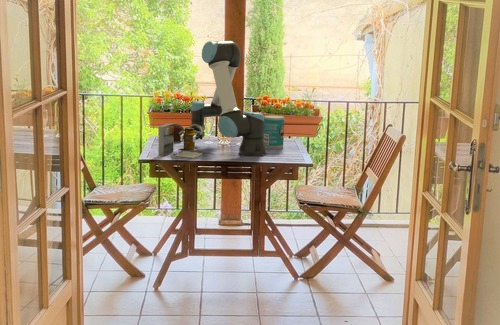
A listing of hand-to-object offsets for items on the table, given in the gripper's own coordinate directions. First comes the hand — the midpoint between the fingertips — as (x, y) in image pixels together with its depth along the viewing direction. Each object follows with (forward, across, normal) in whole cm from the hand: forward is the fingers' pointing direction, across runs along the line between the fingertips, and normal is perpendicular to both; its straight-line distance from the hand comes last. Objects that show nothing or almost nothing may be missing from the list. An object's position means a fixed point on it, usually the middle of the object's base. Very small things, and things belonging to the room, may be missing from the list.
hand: (187, 138), depth 385 cm
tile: (-5, 0, -10) cm, 11 cm away
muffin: (-46, +16, -11) cm, 50 cm away
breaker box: (-5, +13, -10) cm, 17 cm away
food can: (-40, -44, -10) cm, 60 cm away
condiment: (-5, +1, -7) cm, 9 cm away
